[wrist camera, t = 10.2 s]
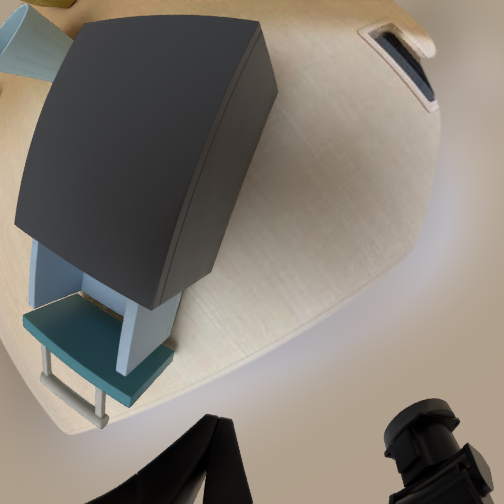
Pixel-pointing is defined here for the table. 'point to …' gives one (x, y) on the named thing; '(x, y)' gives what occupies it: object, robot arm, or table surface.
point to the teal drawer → (95, 335)
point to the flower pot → (51, 3)
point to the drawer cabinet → (147, 148)
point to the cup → (32, 45)
